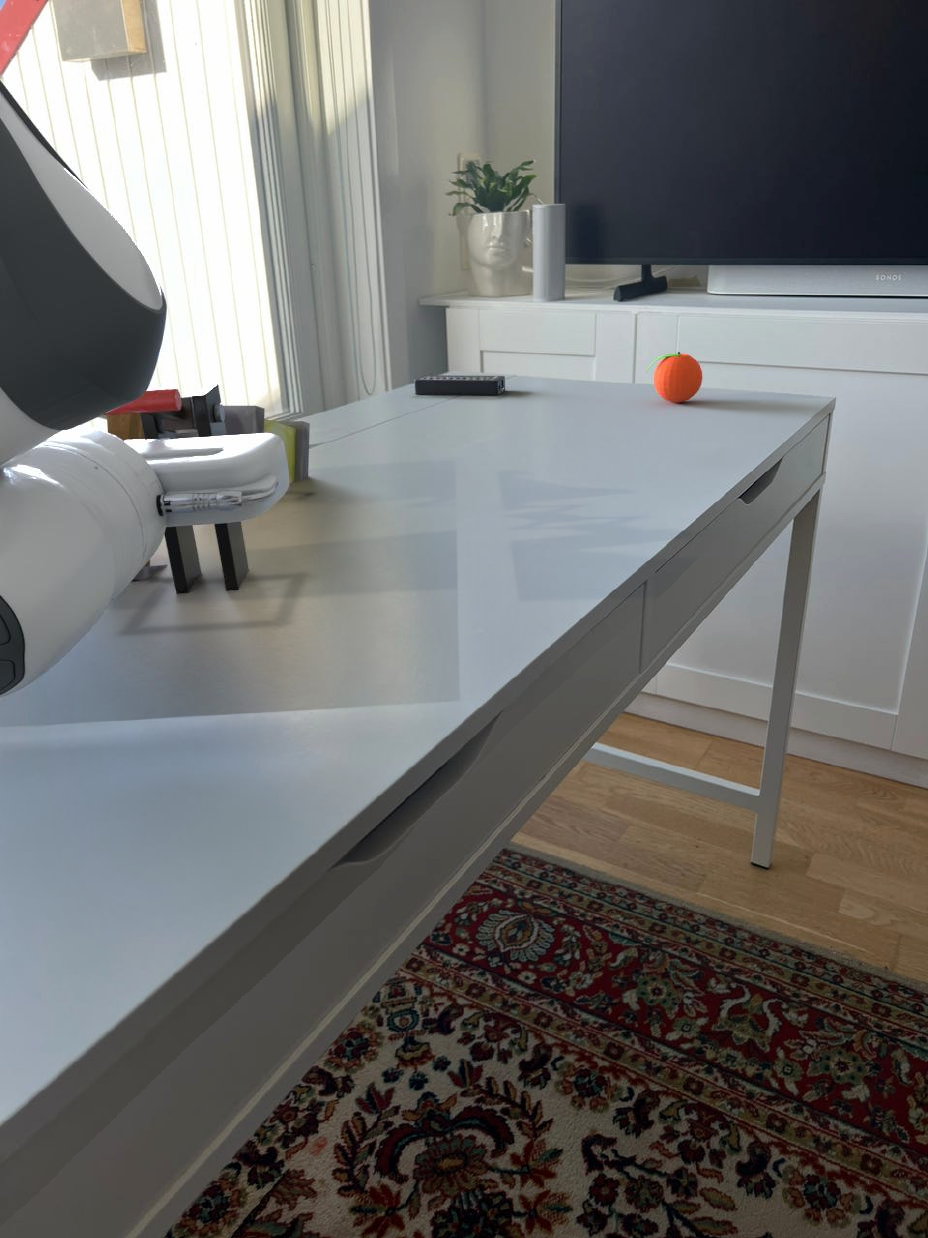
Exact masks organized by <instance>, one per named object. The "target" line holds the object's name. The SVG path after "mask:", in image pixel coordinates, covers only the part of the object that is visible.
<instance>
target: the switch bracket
mask: <svg viewBox="0 0 928 1238" xmlns="http://www.w3.org/2000/svg"><path fill="white" fill-rule="evenodd" d="M153 389H168V388H167V387H164V386H163V387H154V388H153ZM191 397H192V401H193V407H194V413H195V418H196V424H197V430H198V435H199V438H203V437H218V436H227V434H226V428H225V422H224V420H225V412H224V408H223V406H224V405H223V403H222V398H221V391H220V385H219V384H216V383H215V384H205V385H204V386H202V388H200V389H199V390H197V391H196V392H195V393H194V394H192V395H191ZM140 416H141V421H142V426H143V431H144V436H145V440H146V439H158V438H170V440H173V439H176V434H175V433H173V432H168V431H165V430H164V420H163V418H159V417H155V416H151V415H147V414H143V413H140ZM213 525H214V530H215V535H216V536H215V537H216V542H217V547H218V553H219V558H220V564H221V569H222V575H223V581H224V586H225V592H231V591H239V590H240V588H241V586H242V585H243V583H244V581H245V579H246V578H247V575H248V573H249V571H250V569H249V562H248V556H247V550H246V544H245V538H244V532H243V526H242V521H239V522H232V523H221V524H213ZM164 540H165V546H166V549H167V555H168V559H169V564H170V569H171V574H172V580H173V585H174V589H175V594H176V595H178V594H181V595H182V594H183V595H184V594H189V593H190V592H191V590H192V589H193V587H194V586H195V584H196V583H197V582H198V580H199V579H200V577H201V575H202V568H201V562H200V558H199V557H200V556H199V552H198V547H197V540H196V536H195V530H194V525H190V526H175V527H166V530H165V533H164Z"/></svg>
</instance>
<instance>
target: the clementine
mask: <svg viewBox="0 0 928 1238" xmlns="http://www.w3.org/2000/svg"><path fill="white" fill-rule="evenodd" d="M658 360H659V361H660V362H659V363H658V364H657V365H656V368H655V369H654V372H653V387H654V389H655V392H656V393H657V394H658V395H659V397H661V398H662V399H663V400H665V401H667V402H670V403H674V404H676V403H677V404H678V403H683V402H686V401H689V400H691V399H692V398H693V397H694V396H696V394H697V393H698V392H699V390H700V388H701V386H702V383H703V370H702V367H701V365H700V364H699V362H698V360H697V359H696V358H694V357H692V355H690V354H688V353H681V351H678V352H677V353H668V354H663V355H661V356H659V357H657V358H655V359H654V360H653V361H652V362H651V363H650V364H649V365H648V368H647V370H646V373H648V371H649V370H650V367H651V366H653V364H654V363H655V362H657V361H658Z"/></svg>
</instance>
